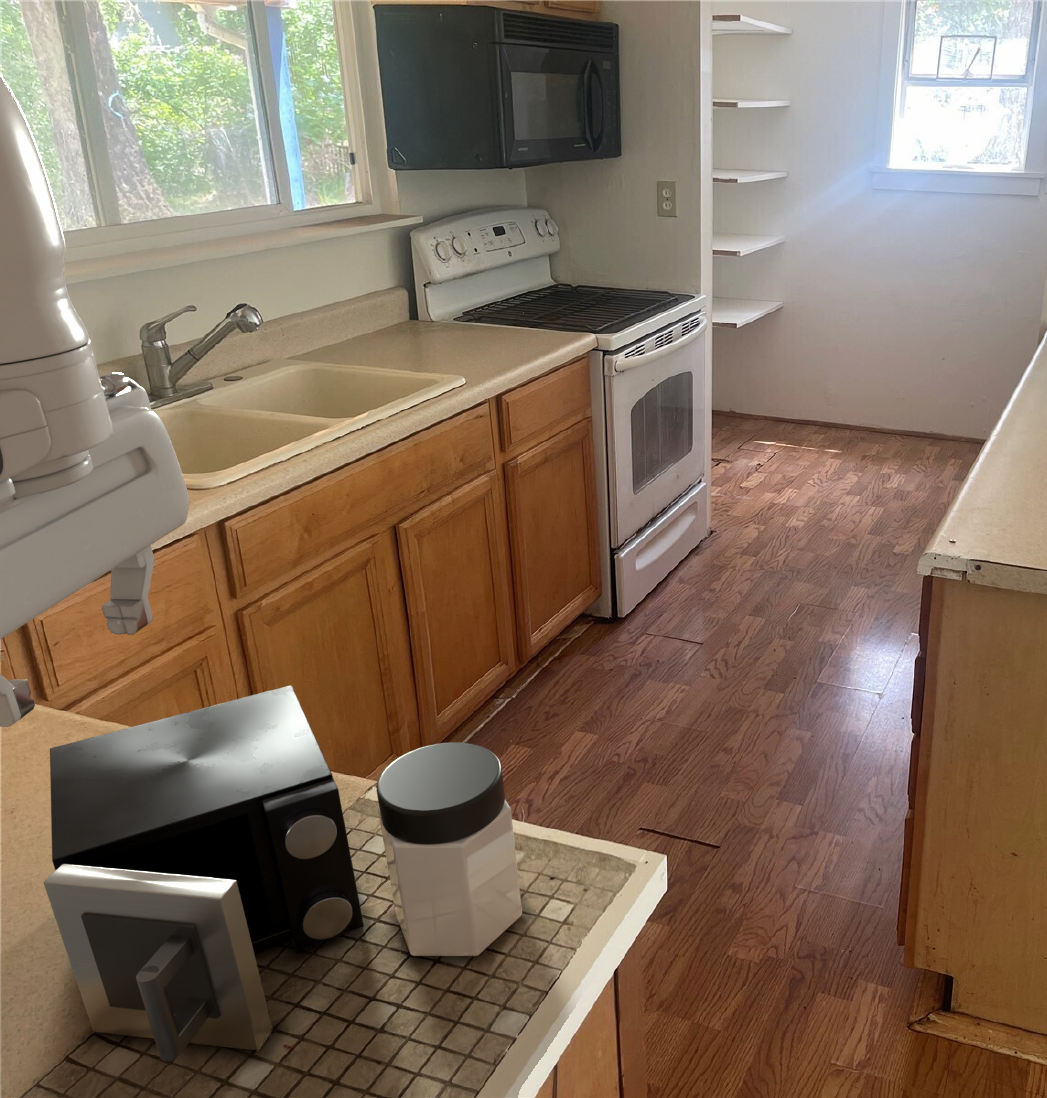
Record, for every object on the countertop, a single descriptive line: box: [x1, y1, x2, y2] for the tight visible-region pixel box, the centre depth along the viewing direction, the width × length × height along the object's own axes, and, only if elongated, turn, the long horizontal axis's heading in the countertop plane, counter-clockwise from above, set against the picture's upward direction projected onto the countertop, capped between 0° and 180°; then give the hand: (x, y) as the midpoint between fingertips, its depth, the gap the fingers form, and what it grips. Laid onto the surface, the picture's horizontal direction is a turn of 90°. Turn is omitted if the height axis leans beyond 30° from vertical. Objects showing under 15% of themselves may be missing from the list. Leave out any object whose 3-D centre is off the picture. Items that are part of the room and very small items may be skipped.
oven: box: [49, 684, 365, 955], centre depth 71 cm, size 16×16×12 cm
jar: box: [376, 742, 523, 957], centre depth 71 cm, size 9×8×12 cm
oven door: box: [43, 864, 274, 1062], centre depth 60 cm, size 5×11×12 cm, turn 82°
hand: (75, 670), depth 54 cm, fingers open, 8 cm apart
